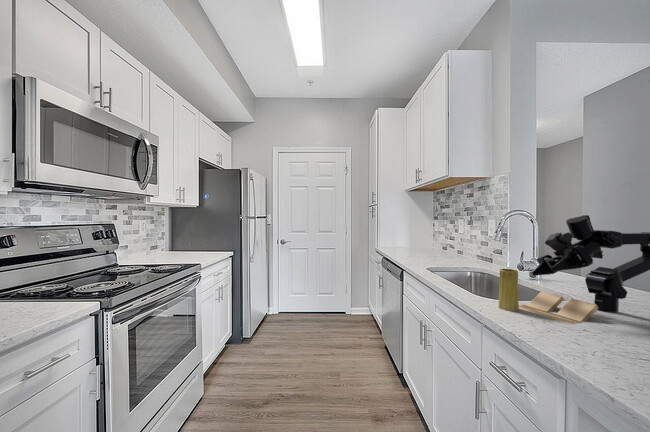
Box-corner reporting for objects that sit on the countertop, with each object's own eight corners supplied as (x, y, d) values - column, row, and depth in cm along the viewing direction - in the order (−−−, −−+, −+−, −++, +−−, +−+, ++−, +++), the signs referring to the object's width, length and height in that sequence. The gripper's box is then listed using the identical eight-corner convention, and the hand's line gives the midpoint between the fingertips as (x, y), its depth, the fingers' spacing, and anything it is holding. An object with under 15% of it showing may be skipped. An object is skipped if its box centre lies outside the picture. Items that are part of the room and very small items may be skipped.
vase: (520, 316, 106) (521, 271, 106) (499, 314, 108) (499, 270, 108) (516, 311, 112) (517, 269, 112) (496, 309, 114) (496, 268, 114)
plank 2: (573, 301, 106) (571, 298, 106) (598, 308, 99) (596, 304, 99) (557, 317, 104) (555, 314, 104) (582, 325, 97) (580, 321, 97)
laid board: (523, 309, 115) (523, 304, 115) (581, 327, 96) (581, 321, 96) (511, 310, 113) (511, 305, 113) (568, 329, 94) (568, 323, 94)
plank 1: (542, 294, 116) (541, 291, 116) (563, 299, 109) (562, 296, 109) (528, 309, 114) (526, 305, 114) (548, 315, 107) (546, 311, 107)
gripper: (546, 236, 119) (510, 255, 117) (586, 221, 102) (546, 242, 99) (565, 264, 116) (529, 284, 114) (610, 254, 99) (569, 276, 96)
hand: (542, 272), depth 106 cm, fingers open, 9 cm apart
